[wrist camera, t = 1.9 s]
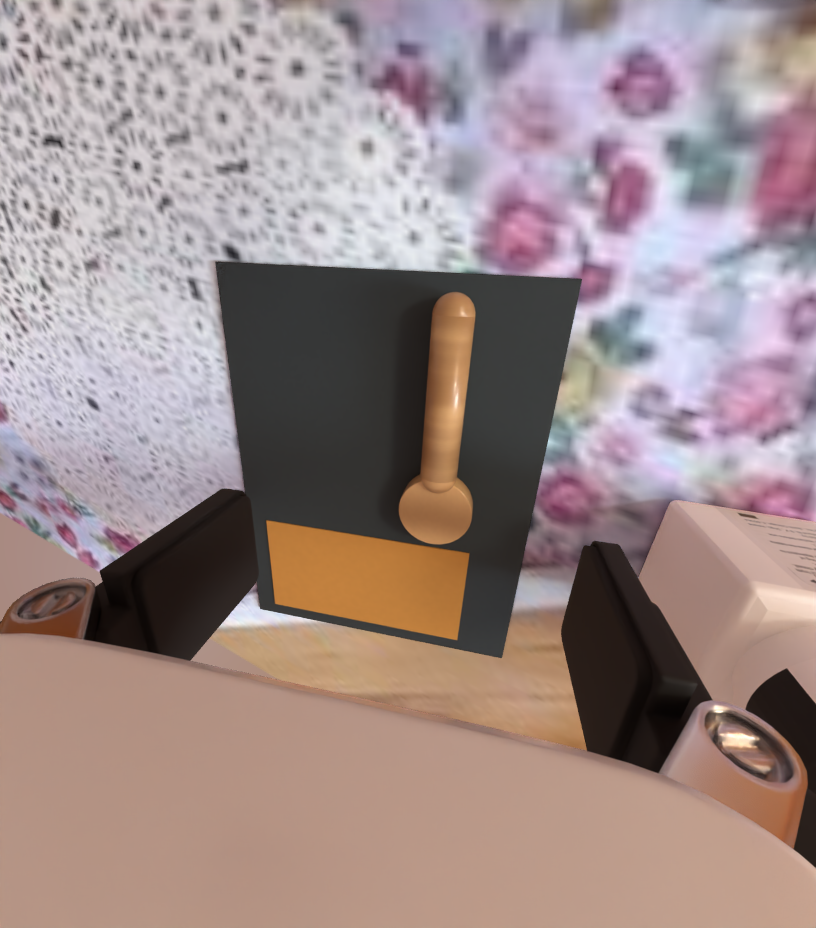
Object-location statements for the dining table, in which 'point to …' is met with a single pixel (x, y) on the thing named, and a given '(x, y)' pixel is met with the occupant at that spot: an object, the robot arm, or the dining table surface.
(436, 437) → the wooden rod with disc
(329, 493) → the mat
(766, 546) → the container
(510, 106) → the dining table surface
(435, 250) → the dining table surface
